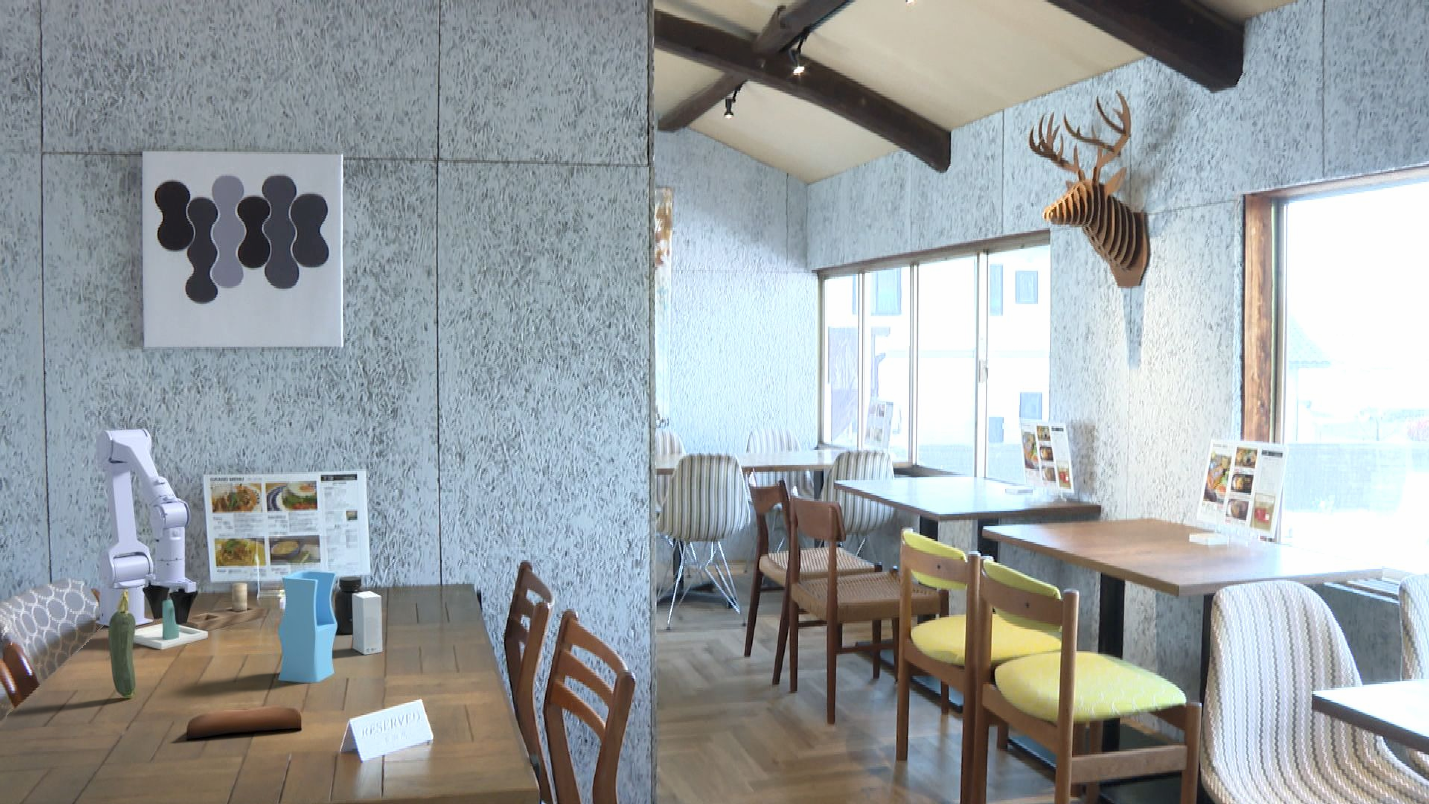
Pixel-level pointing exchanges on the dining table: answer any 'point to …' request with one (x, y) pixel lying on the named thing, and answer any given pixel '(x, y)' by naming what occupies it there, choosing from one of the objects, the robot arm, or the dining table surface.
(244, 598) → the birch dowel
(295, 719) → the sunglasses case
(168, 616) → the teal dowel
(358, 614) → the skincare box
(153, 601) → the robot arm
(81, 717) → the dining table surface
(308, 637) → the vase
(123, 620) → the vegetable
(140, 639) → the tray
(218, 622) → the rack
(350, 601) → the supplement bottle
